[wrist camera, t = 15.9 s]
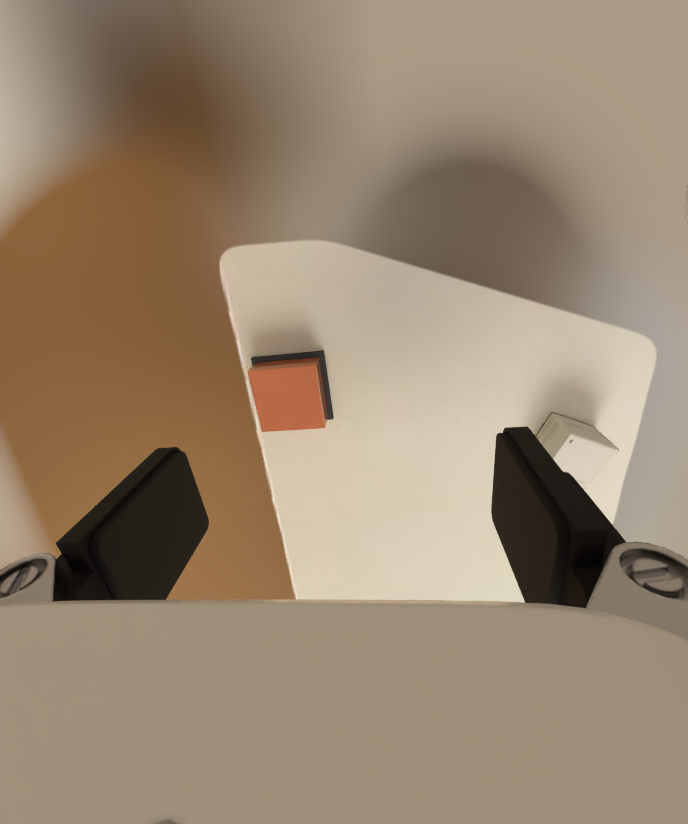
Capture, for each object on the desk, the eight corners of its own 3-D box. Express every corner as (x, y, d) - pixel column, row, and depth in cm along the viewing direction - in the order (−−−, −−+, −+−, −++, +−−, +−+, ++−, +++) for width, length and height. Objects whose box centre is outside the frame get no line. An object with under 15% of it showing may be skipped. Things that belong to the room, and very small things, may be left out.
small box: (524, 451, 44) (540, 475, 39) (551, 410, 41) (571, 431, 37) (567, 466, 44) (588, 491, 40) (596, 426, 42) (622, 449, 37)
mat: (323, 350, 41) (323, 351, 40) (333, 418, 44) (333, 419, 44) (251, 357, 42) (250, 358, 41) (266, 422, 45) (265, 423, 45)
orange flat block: (319, 356, 41) (315, 365, 38) (328, 416, 44) (324, 428, 41) (255, 362, 41) (247, 371, 39) (269, 420, 45) (261, 432, 42)
